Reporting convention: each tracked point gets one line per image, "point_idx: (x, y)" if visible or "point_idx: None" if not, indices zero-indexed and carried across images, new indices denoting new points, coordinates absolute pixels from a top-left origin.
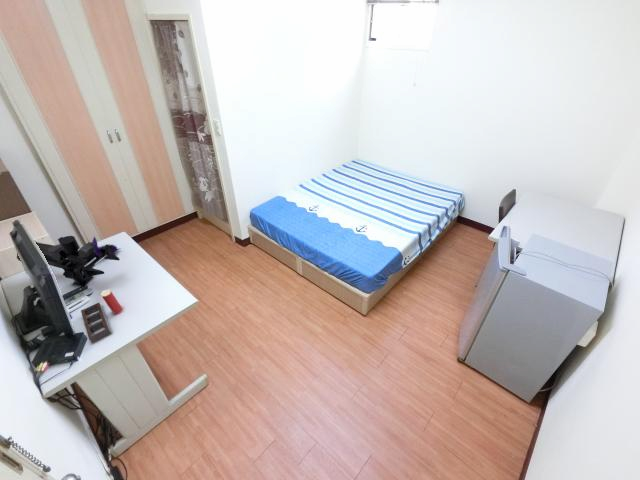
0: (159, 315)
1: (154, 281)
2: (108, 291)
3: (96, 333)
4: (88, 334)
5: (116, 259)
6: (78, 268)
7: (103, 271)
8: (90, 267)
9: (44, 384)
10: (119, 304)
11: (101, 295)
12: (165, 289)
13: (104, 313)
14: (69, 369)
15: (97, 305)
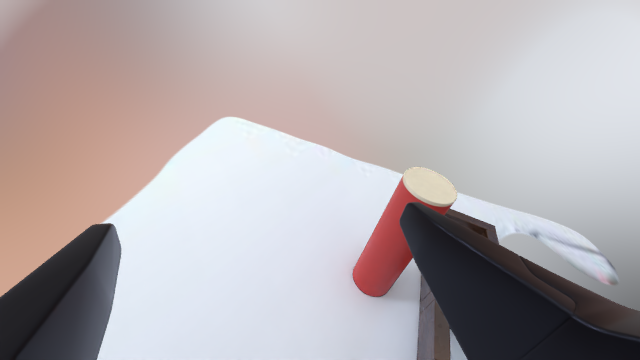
0: (302, 154)
1: (141, 267)
2: (415, 179)
3: (471, 222)
4: (496, 241)
5: (106, 297)
6: None
7: (411, 202)
8: (622, 331)
9: (593, 247)
10: (364, 248)
11: (454, 188)
12: (191, 192)
13: (419, 319)
14: (537, 229)
15: (447, 356)
